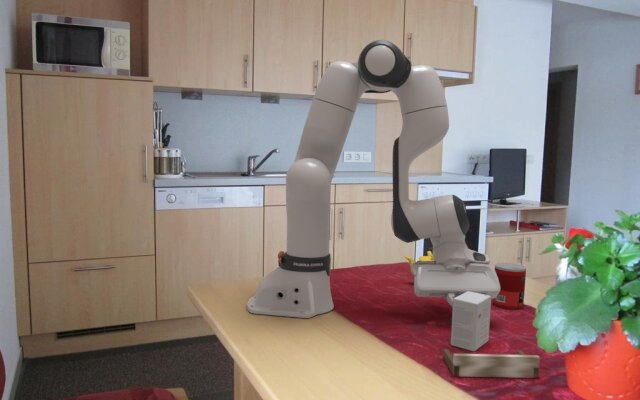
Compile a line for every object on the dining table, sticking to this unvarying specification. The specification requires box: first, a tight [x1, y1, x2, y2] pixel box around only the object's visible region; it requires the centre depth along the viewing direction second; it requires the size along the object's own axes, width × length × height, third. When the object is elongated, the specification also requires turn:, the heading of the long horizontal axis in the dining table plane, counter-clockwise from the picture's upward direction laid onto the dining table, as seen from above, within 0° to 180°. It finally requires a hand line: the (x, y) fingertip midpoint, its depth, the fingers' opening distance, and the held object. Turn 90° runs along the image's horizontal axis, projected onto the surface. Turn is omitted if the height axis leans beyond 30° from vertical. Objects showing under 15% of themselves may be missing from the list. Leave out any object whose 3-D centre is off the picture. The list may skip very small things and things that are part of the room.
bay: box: [442, 348, 541, 379], centre depth 101 cm, size 16×8×4 cm, turn 91°
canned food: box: [492, 262, 527, 310], centre depth 141 cm, size 8×8×11 cm
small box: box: [450, 291, 492, 352], centre depth 113 cm, size 8×6×10 cm
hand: (461, 312), depth 121 cm, fingers closed
